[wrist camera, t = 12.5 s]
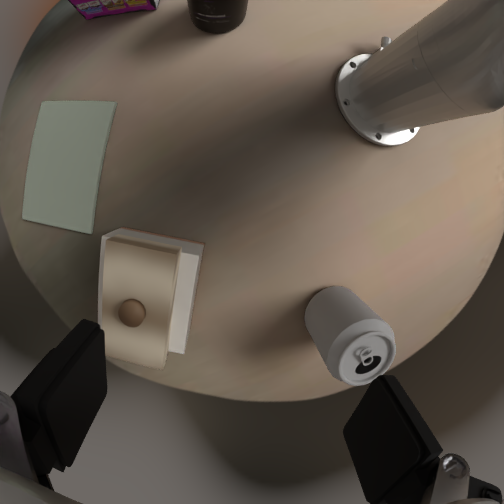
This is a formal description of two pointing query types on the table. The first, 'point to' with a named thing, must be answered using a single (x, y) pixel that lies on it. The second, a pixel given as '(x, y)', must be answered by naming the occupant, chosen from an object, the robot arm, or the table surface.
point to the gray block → (184, 285)
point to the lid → (138, 299)
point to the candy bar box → (111, 7)
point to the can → (349, 336)
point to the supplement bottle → (217, 14)
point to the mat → (67, 163)
